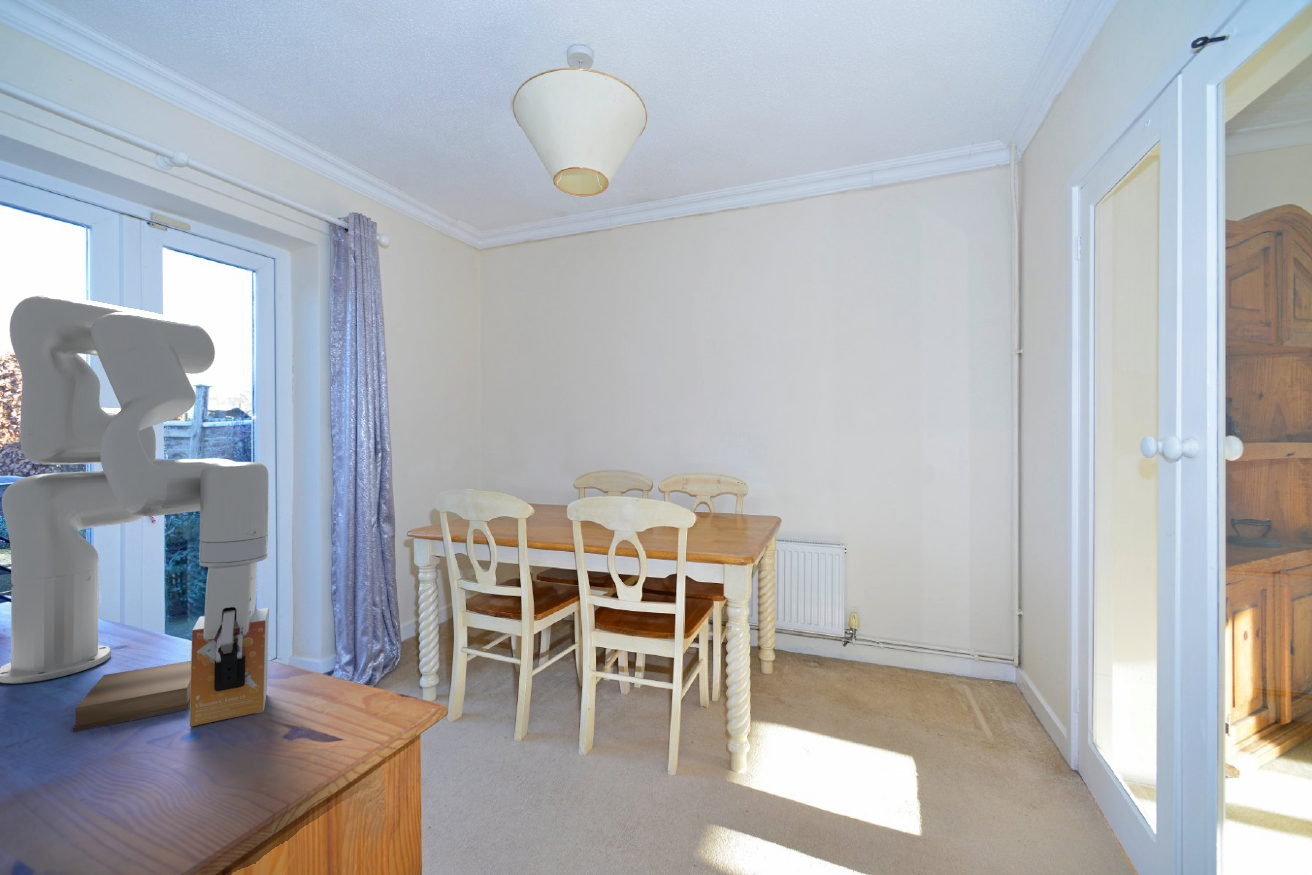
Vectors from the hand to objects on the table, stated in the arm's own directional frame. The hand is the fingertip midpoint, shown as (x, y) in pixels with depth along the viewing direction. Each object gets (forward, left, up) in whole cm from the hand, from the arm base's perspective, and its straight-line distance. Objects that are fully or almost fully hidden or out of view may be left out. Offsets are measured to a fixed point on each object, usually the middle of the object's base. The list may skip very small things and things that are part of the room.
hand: (233, 676), depth 76 cm
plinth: (-9, -11, -5) cm, 15 cm away
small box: (0, 0, -5) cm, 5 cm away
